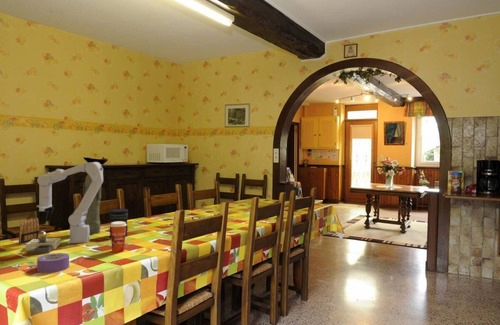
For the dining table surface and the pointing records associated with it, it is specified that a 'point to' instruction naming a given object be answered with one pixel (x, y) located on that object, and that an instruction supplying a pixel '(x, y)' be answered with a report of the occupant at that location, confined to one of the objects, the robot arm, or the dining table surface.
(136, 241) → the dining table surface
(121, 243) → the paper cup
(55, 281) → the dining table surface
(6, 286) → the dining table surface
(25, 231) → the ammunition clip
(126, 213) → the storage jar
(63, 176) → the robot arm
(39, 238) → the battery cell
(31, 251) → the checker cradle
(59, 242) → the trough tray
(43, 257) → the tape roll
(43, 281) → the dining table surface
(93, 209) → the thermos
